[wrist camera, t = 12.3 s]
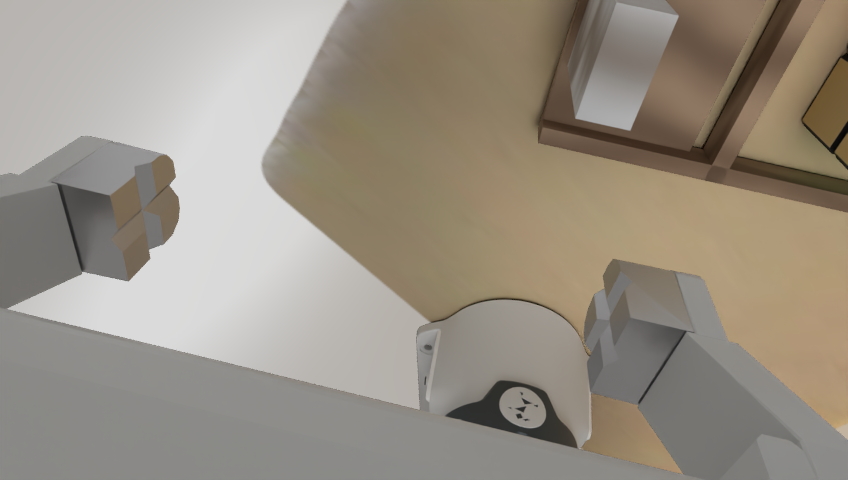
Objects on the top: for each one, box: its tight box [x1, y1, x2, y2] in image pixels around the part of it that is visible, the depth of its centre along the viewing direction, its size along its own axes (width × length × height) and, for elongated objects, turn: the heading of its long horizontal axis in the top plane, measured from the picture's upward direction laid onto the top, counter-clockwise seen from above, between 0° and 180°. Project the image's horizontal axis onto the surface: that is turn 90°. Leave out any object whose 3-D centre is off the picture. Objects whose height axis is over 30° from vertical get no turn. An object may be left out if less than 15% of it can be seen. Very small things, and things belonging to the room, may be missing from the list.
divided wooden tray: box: [538, 0, 848, 212], centre depth 31 cm, size 16×28×10 cm, turn 80°
